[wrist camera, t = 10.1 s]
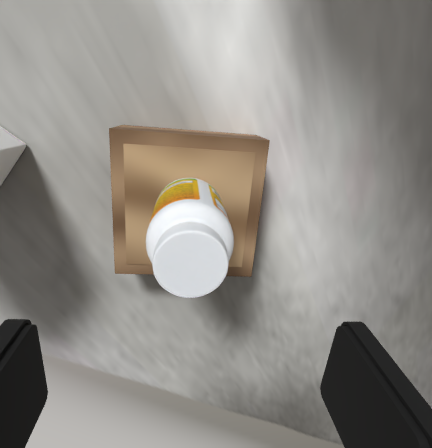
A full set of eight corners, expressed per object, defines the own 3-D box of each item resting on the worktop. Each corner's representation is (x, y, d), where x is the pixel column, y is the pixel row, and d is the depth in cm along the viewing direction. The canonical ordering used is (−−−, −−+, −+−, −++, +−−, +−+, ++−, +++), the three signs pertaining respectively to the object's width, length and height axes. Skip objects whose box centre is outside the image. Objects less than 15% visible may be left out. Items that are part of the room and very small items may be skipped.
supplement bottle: (145, 225, 25) (122, 292, 16) (170, 165, 24) (160, 200, 15) (206, 248, 26) (216, 322, 17) (233, 192, 25) (259, 240, 16)
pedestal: (122, 124, 27) (108, 128, 22) (255, 135, 28) (269, 140, 24) (125, 248, 31) (114, 274, 26) (241, 252, 33) (251, 277, 28)
